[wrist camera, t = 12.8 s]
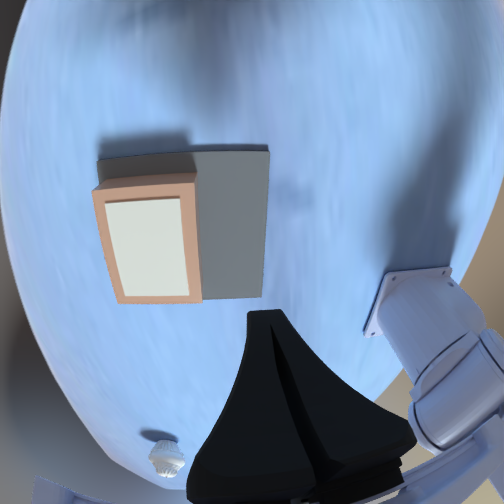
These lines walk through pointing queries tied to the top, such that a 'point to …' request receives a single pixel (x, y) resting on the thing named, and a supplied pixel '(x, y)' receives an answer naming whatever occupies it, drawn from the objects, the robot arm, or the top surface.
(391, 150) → the top surface
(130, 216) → the block
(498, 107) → the top surface
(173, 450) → the muffin
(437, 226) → the top surface
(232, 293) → the mat
